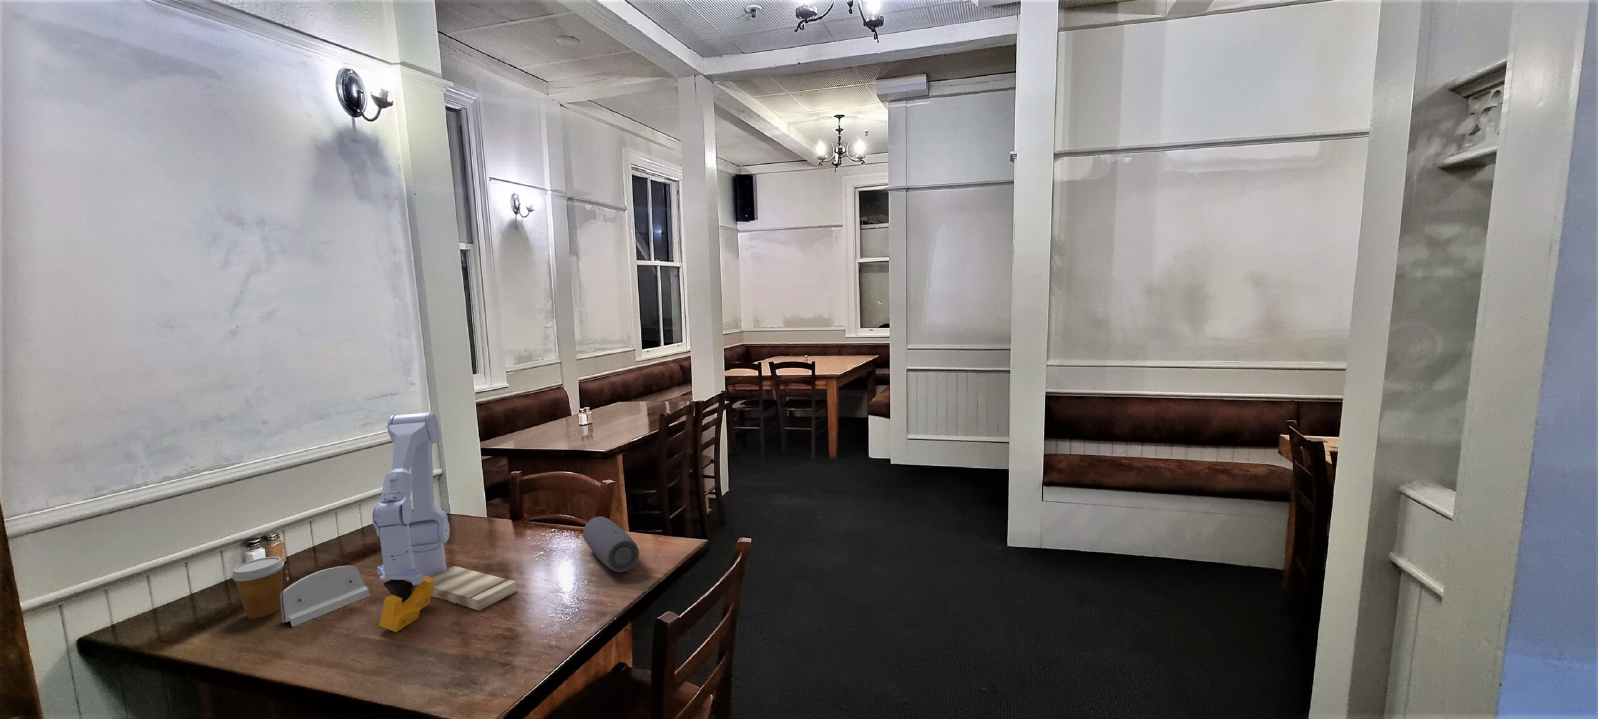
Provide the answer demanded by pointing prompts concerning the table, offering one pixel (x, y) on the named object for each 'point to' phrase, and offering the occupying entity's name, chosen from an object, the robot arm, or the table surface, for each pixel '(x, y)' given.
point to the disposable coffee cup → (260, 586)
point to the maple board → (471, 587)
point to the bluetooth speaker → (611, 544)
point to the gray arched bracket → (321, 594)
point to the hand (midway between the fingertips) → (404, 608)
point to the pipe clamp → (406, 606)
